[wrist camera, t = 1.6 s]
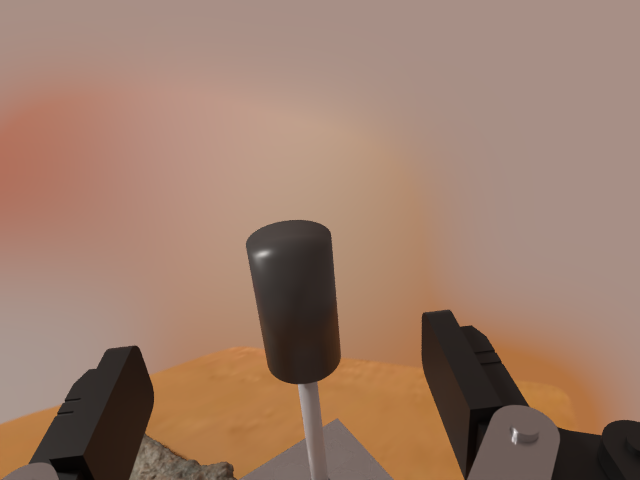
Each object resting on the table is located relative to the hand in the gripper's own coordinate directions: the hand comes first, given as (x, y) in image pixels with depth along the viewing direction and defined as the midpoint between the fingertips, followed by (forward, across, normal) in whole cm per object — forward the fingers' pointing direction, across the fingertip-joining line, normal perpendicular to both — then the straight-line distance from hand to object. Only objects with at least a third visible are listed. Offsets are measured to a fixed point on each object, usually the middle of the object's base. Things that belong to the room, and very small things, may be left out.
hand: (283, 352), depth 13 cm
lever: (+12, 0, +27) cm, 30 cm away
